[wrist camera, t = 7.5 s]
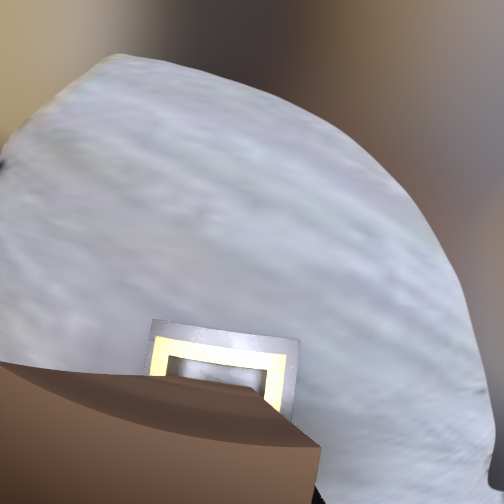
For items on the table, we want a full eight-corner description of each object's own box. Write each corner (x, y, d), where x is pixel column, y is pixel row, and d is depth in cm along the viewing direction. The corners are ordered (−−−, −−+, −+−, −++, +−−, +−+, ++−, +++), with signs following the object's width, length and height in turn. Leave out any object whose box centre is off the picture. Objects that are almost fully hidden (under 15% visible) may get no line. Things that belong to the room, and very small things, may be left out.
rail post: (242, 454, 12) (266, 641, 1) (168, 442, 12) (14, 565, 1) (251, 386, 14) (320, 447, 2) (176, 375, 14) (-11, 359, 2)
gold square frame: (280, 473, 17) (290, 495, 13) (138, 451, 17) (117, 466, 13) (297, 341, 21) (312, 333, 17) (156, 321, 21) (138, 308, 17)
